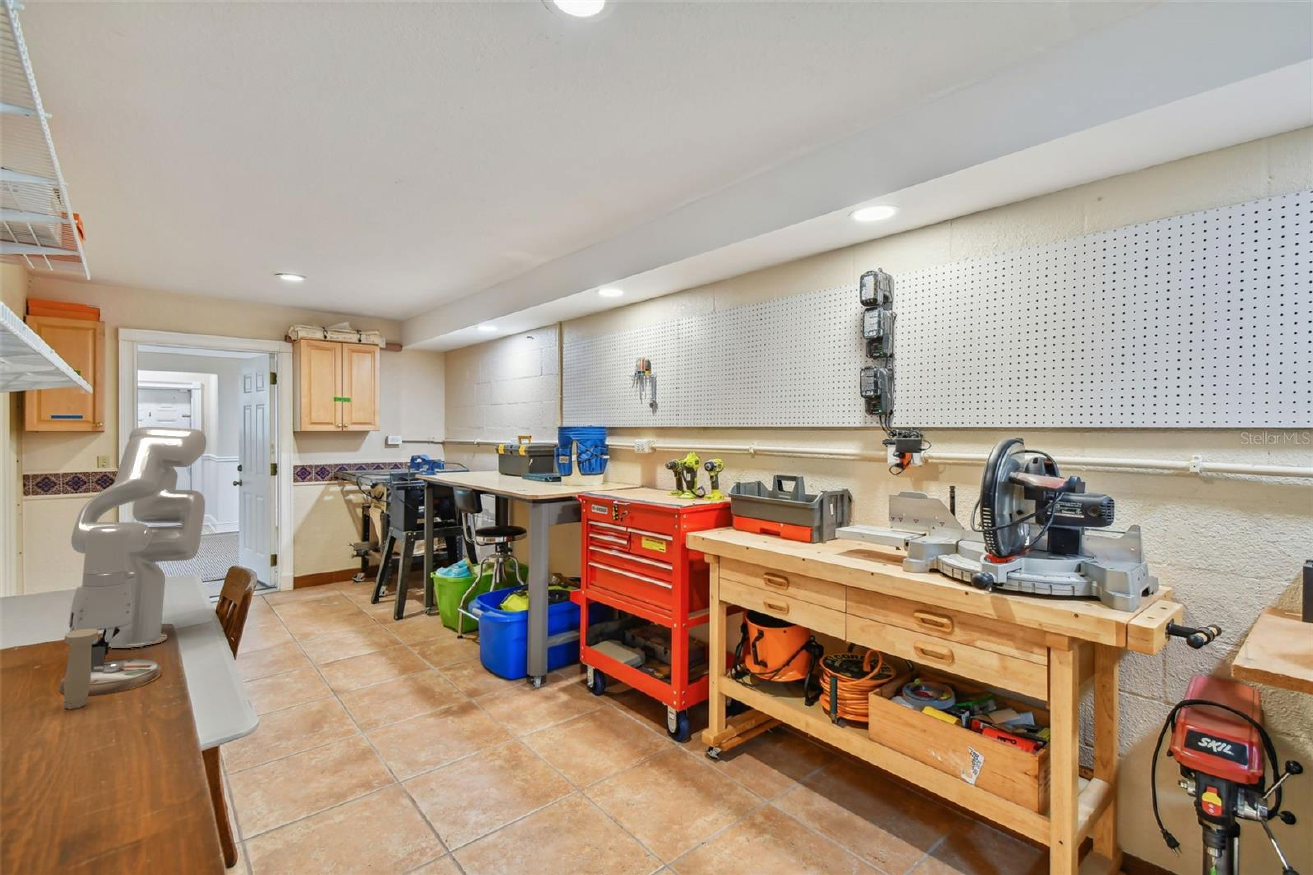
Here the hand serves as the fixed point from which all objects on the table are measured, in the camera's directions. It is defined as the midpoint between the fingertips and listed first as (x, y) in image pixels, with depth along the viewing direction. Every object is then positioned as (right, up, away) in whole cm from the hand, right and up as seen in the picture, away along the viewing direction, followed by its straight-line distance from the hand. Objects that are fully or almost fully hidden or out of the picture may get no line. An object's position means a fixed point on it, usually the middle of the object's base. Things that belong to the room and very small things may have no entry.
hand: (98, 659), depth 137 cm
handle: (+10, -4, -15) cm, 19 cm away
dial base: (+5, -4, -2) cm, 7 cm away
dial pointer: (+5, -2, -2) cm, 6 cm away
